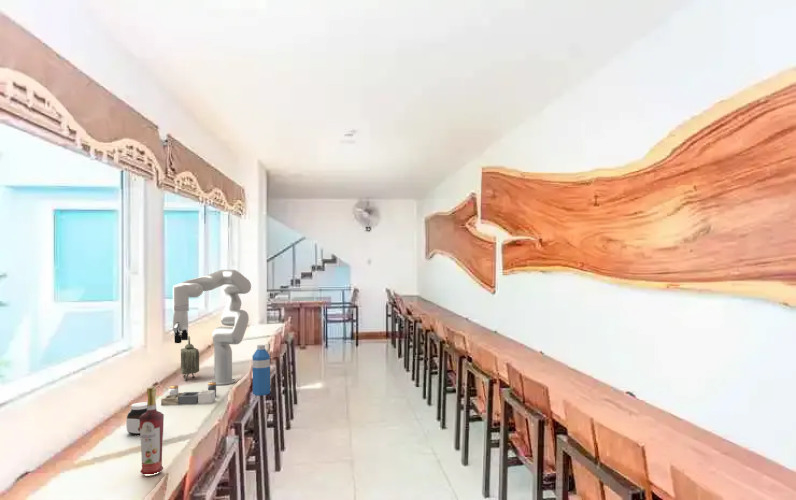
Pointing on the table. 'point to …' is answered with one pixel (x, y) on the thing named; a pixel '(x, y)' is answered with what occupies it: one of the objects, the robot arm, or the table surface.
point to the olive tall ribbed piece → (189, 360)
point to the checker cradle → (188, 398)
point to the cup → (206, 397)
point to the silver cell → (174, 391)
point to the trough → (169, 400)
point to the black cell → (212, 386)
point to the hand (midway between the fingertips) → (181, 341)
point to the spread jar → (135, 417)
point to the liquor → (151, 436)
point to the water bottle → (261, 371)
